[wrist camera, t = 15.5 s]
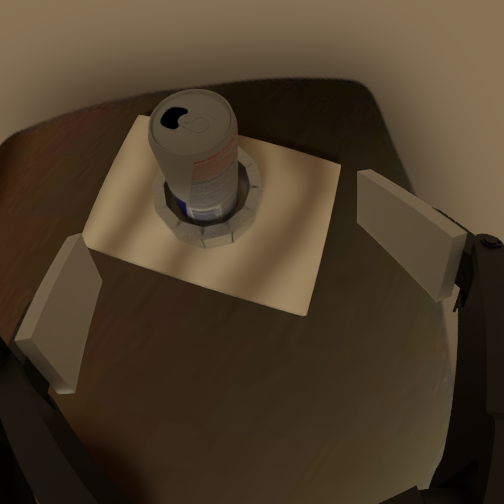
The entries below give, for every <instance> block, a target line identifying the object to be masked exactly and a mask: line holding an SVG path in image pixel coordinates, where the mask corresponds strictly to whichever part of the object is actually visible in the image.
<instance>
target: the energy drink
mask: <svg viewBox="0 0 504 504" xmlns="http://www.w3.org/2000/svg"><path fill="white" fill-rule="evenodd" d="M148 140H149V145H150V147H151V149H152V151H153V154H154V156H155V158H156V160H157V162H158V164H159V167H160V169H161V171H162V173H163V175H164V177H165V179H166V181H167V183H168V186H169V188H170V190H171V192H172V194H173V196H174V198H175V200H176V202H177V204H178V206H179V208H180V210H181V212H182V214H183V216H184V217H185V218H186V219H187V220H188V221H189V222H191V223H193V224H195V225H197V226H201V227H208V226H212V225H216V224H221V223H223V222H225V221H226V220H228V219H229V218H230V217H231V216H232V214H233V213H234V211H235V210H236V207H237V204H238V126H237V119H236V116H235V114H234V112H233V111H232V108H231V106H230V104H229V103H228V101H227V100H226V99H225V98H224V97H222V96H221V95H219V94H217V93H215V92H212V91H210V90H204V89H189V90H184V91H180V92H177V93H175V94H172V95H171V96H169V97H167V98H166V99H164V100H163V101H162V102H161V103H159V104H158V106H157V107H156V108H155V109H154V111H153V112H152V114H151V116H150V119H149V124H148Z"/></svg>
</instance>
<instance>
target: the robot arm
mask: <svg viewBox="0 0 504 504" xmlns="http://www.w3.org/2000/svg"><path fill="white" fill-rule="evenodd" d="M357 223H358V224H359V225H360V226H362V227H363V228H364V229H365V230H366V231H367V232H368V233H369V234H370V235H371V236H372V237H373V238H374V239H375V240H376V241H377V242H378V243H379V244H380V245H381V246H382V247H383V248H384V249H385V250H387V251H388V252H389V253H390V254H391V255H392V256H393V257H394V258H395V259H396V260H397V261H398V262H399V263H400V264H401V266H402V267H403V268H404V269H405V270H406V271H407V272H408V273H409V274H410V275H411V276H412V277H413V278H414V279H415V280H416V281H417V282H418V283H419V284H420V285H421V286H422V287H423V288H424V290H425V291H426V292H427V293H428V294H429V295H430V296H431V297H432V298H433V299H434V300H435V301H436V303H437V302H439V301H441V300H444V299H446V298H448V297H450V296H451V294H452V290H453V287H454V284H456V285H457V286H458V287H459V288H460V291H459V294H458V297H457V300H456V303H455V306H454V309H453V312H456V309H457V308H458V347H457V363H456V375H455V385H454V394H453V402H452V409H451V416H450V422H449V428H448V433H447V438H446V443H445V448H444V453H443V456H442V459H441V461H440V463H439V465H438V467H437V469H436V470H435V473H434V475H433V477H432V480H431V483H430V486H429V489H424V490H418V488H417V486H414V487H412V488H410V489H408V490H406V491H404V492H402V493H400V494H398V495H396V496H394V497H392V498H390V499H388V500H386V501H383V502H381V503H379V504H504V244H503V243H502V242H501V241H500V240H499V239H498V238H496V237H494V236H491V235H488V234H478V235H476V236H475V235H474V234H472V233H471V232H470V231H468V230H467V229H466V228H464V227H463V226H461V225H460V224H459V223H457V222H455V221H454V220H453V219H452V218H450V217H448V216H447V215H446V214H444V213H443V212H442V211H440V210H438V209H435V208H433V207H430V206H429V205H428V204H426V203H425V202H423V201H421V200H420V199H418V198H417V197H415V196H414V195H412V194H411V193H409V192H408V191H406V190H404V189H403V188H401V187H400V186H398V185H396V184H395V183H393V182H391V181H390V180H388V179H386V178H385V177H383V176H381V175H380V174H378V173H376V172H374V171H373V170H371V169H369V170H363V171H357ZM101 284H102V279H101V277H100V275H99V273H98V271H97V269H96V266H95V264H94V262H93V260H92V257H91V255H90V253H89V251H88V248H87V246H86V244H85V241H84V239H83V236H82V234H81V233H80V234H76V235H73V236H70V237H67V239H66V241H65V242H64V244H63V246H62V247H61V249H60V251H59V252H58V254H57V256H56V257H55V259H54V261H53V263H52V265H51V266H50V268H49V270H48V272H47V274H46V275H45V277H44V279H43V281H42V283H41V285H40V287H39V289H38V291H37V293H36V295H35V297H34V299H32V300H31V302H30V303H29V304H28V305H27V306H26V308H25V309H24V312H23V314H22V316H21V319H20V320H19V322H18V326H16V329H15V331H14V333H13V335H12V338H11V340H10V342H9V345H8V346H7V345H6V343H5V342H4V341H3V339H2V338H1V336H0V504H37V503H36V500H35V497H34V495H35V496H36V498H37V500H38V502H39V503H40V504H132V503H131V502H130V501H129V500H128V499H127V498H126V497H125V496H124V495H123V494H122V492H121V491H120V490H119V489H118V488H117V487H116V486H115V485H114V483H113V482H112V481H111V480H110V479H109V477H108V476H107V475H106V474H105V473H104V471H103V470H102V469H101V468H100V466H99V465H98V464H97V463H96V461H95V460H94V459H93V457H92V456H91V455H90V453H89V452H88V451H87V449H86V448H85V447H84V445H83V444H82V443H81V441H80V440H79V438H78V437H77V435H76V434H75V432H74V431H73V430H72V428H71V427H70V425H69V424H68V422H67V420H66V419H65V417H64V416H63V414H62V413H61V411H60V409H59V408H58V406H57V404H56V403H55V401H54V399H53V398H52V397H51V396H50V395H49V394H48V388H49V384H50V385H51V386H52V387H53V389H54V390H55V391H56V392H57V393H58V394H66V393H75V391H76V386H77V380H78V375H79V370H80V365H81V361H82V356H83V352H84V347H85V343H86V339H87V335H88V331H89V327H90V323H91V319H92V316H93V312H94V308H95V305H96V301H97V298H98V294H99V291H100V288H101ZM33 493H34V494H33Z"/></svg>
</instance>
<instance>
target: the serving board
mask: <svg viewBox="0 0 504 504" xmlns="http://www.w3.org/2000/svg"><path fill="white" fill-rule="evenodd" d="M149 119H150V117H148V116H142V115H139V116H138V117H137V119H136V121H135V123H134V124H133V126H132V128H131V130H130V132H129V134H128V135H127V137H126V139H125V141H124V143H123V145H122V147H121V149H120V151H119V153H118V154H117V156H116V158H115V160H114V162H113V164H112V167H111V169H110V171H109V173H108V175H107V177H106V179H105V181H104V183H103V186H102V188H101V190H100V192H99V194H98V197H97V199H96V201H95V204H94V206H93V208H92V211H91V213H90V216H89V218H88V220H87V223H86V225H85V228H84V231H83V233H82V236H83V239H84V241H85V244H86V246H87V247H88V248H91V249H94V250H96V251H99V252H102V253H105V254H107V255H110V256H113V257H116V258H119V259H122V260H124V261H127V262H130V263H133V264H136V265H139V266H142V267H145V268H148V269H151V270H153V271H156V272H159V273H162V274H165V275H168V276H171V277H175V278H178V279H181V280H184V281H187V282H190V283H193V284H196V285H199V286H202V287H206V288H209V289H212V290H215V291H218V292H222V293H225V294H228V295H232V296H235V297H238V298H241V299H245V300H248V301H252V302H255V303H258V304H262V305H265V306H269V307H272V308H276V309H279V310H283V311H286V312H290V313H293V314H297V315H300V316H306V314H307V311H308V307H309V303H310V300H311V296H312V292H313V288H314V284H315V280H316V276H317V272H318V268H319V264H320V260H321V256H322V252H323V248H324V243H325V239H326V235H327V230H328V226H329V222H330V217H331V212H332V208H333V203H334V198H335V194H336V189H337V184H338V179H339V174H340V168H341V165H339V164H336V163H333V162H330V161H327V160H324V159H321V158H318V157H315V156H312V155H309V154H305V153H302V152H299V151H295V150H292V149H289V148H285V147H282V146H278V145H275V144H271V143H267V142H264V141H260V140H256V139H252V138H248V137H244V136H240V135H238V146H239V147H240V148H241V149H242V150H243V151H245V152H246V153H247V154H248V155H249V156H250V157H251V158H252V159H253V160H255V161H256V163H257V166H258V170H259V173H260V177H261V180H262V184H263V192H262V198H261V203H260V206H259V209H258V212H257V215H256V219H255V222H254V225H253V226H252V227H251V228H250V229H249V230H248V231H246V232H245V233H244V234H243V235H242V236H241V237H240V238H239V239H238V240H236V241H235V242H234V243H233V242H232V243H233V244H228V245H224V246H220V247H215V248H211V249H202V248H199V247H196V246H192V245H189V244H186V243H182V242H180V241H179V240H178V239H177V238H176V237H175V236H174V234H173V233H172V232H171V231H170V230H169V229H168V228H167V226H166V225H165V224H164V223H163V222H162V220H161V219H160V217H159V216H158V215H157V213H156V211H155V207H154V200H153V192H152V183H153V181H154V179H155V176H156V174H157V172H158V170H159V168H160V167H159V164H158V162H157V160H156V158H155V156H154V154H153V151H152V149H151V147H150V145H149V140H148V124H149ZM247 196H248V193H247V189H246V185H245V182H244V181H243V180H242V179H241V178H240V177H239V176H238V204H237V207H236V210H235V211H234V213H233V214H232V216H231V217H230V218H229V219H231V218H232V217H233V216H234V215H235V214H236V213H238V212H239V211H240V210H241V209H242V208H243V207H244V205H245V202H246V199H247ZM171 205H172V212H173V213H174V214H175V215H176V217H177V218H178V219H179V220H180V221H182V222H185V223H189V224H192V225H195V224H193V223H191V222H189V221H188V220H187V219H186V218H185V217H184V216H183V214H182V212H181V210H180V208H179V206H178V204H177V202H176V200H175V198H174V196H173V194H172V196H171ZM229 219H228V220H229ZM228 220H226V221H225V222H227V221H228ZM225 222H223V223H225ZM196 226H197V225H196ZM199 227H201V226H199Z"/></svg>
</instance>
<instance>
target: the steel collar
mask: <svg viewBox="0 0 504 504" xmlns="http://www.w3.org/2000/svg"><path fill="white" fill-rule="evenodd" d="M238 176H239V177H240V178H241V179H242V180H243V181H244V182H245V185H246V189H247V193H248V196H247V199H246V202H245V205H244V207H243V208H242V209H241V210H240V211H239V212H238V213H236V214H235V215H234V216H233V217H232V218H231V219H229V220H228V221H227V222H225V223H221V224H216V225H212V226H208V227H199V226H196V225H192V224H189V223H185V222H182V221H180V220H179V219H178V218H177V217H176V215H175V214H174V213H173V212H172V205H171V196H172V192H171V190H170V188H169V186H168V183H167V181H166V179H165V177H164V175H163V173H162V171H161V169H160V168H159V170H158V172H157V174H156V176H155V179H154V181H153V183H152V192H153V200H154V207H155V211H156V213H157V215H158V216H159V217H160V219H161V220H162V222H163V223H164V224H165V225H166V226H167V228H168V229H169V230H170V231H171V232H172V233H173V234H174V236H175V237H176V238H177V239H178V240H179V241H180V242H182V243H186V244H189V245H192V246H196V247H199V248H202V249H211V248H215V247H220V246H224V245H228V244H233V243H234V242H235V241H236V240H238V239H239V238H240V237H241V236H242V235H243V234H244V233H245V232H246V231H248V230H249V229H250V228H251V227H252V226H253V225H254V222H255V219H256V215H257V212H258V209H259V206H260V203H261V198H262V192H263V184H262V180H261V177H260V173H259V170H258V166H257V163H256V161H255V160H253V159H252V158H251V157H250V156H249V155H248V154H247V153H246V152H245V151H243V150H242V149H241V148H240V147H239V146H238ZM232 242H233V243H232Z"/></svg>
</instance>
